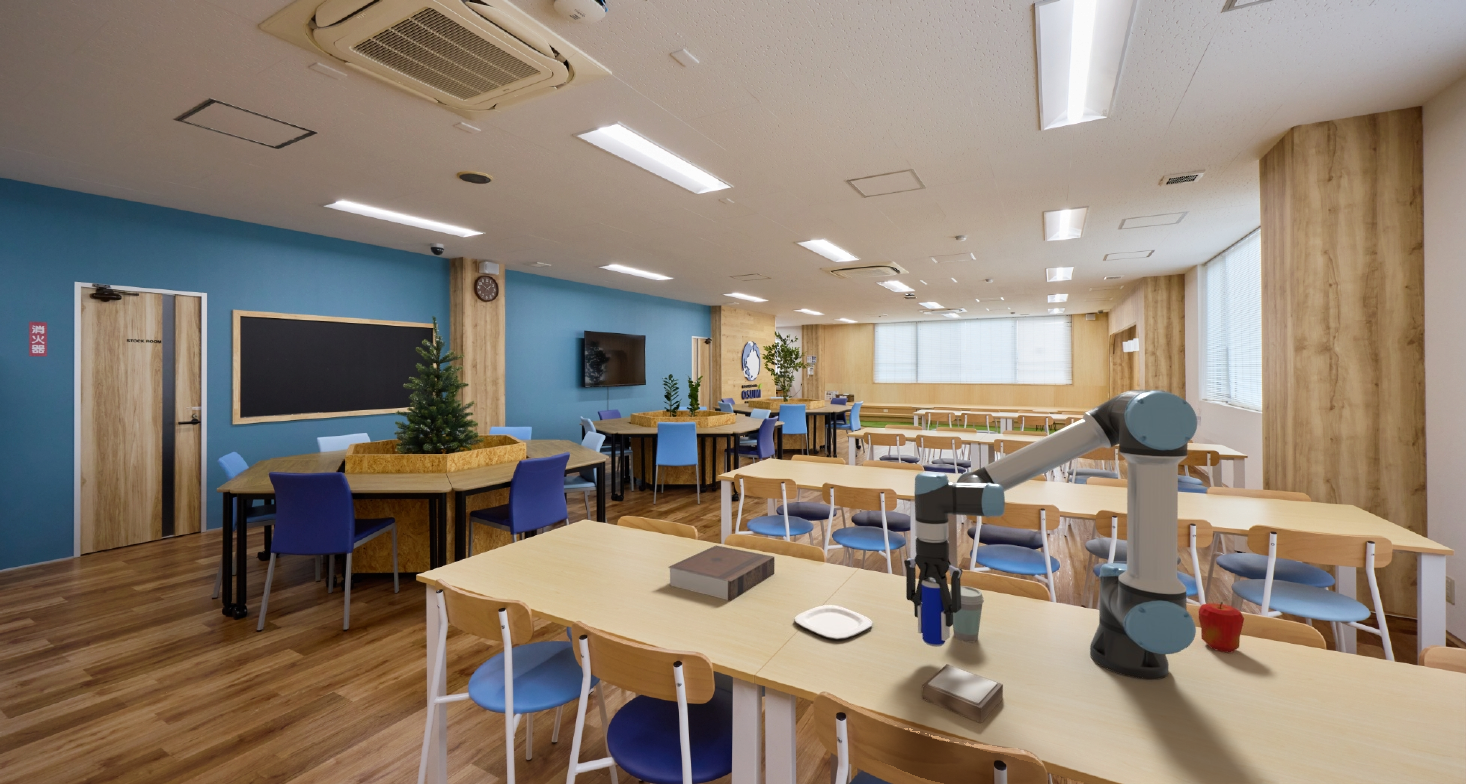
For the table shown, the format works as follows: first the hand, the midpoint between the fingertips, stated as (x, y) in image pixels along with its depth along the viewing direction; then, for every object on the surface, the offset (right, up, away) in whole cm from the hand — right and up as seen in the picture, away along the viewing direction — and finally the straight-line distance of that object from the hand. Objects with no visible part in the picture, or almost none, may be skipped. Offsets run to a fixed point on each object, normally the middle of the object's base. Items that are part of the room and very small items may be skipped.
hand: (933, 634), depth 134 cm
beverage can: (0, -2, 0) cm, 2 cm away
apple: (+74, -6, +6) cm, 74 cm away
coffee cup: (+13, -6, +13) cm, 19 cm away
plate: (-21, -6, +20) cm, 29 cm away
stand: (0, -7, -16) cm, 17 cm away
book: (-51, -6, +55) cm, 75 cm away
